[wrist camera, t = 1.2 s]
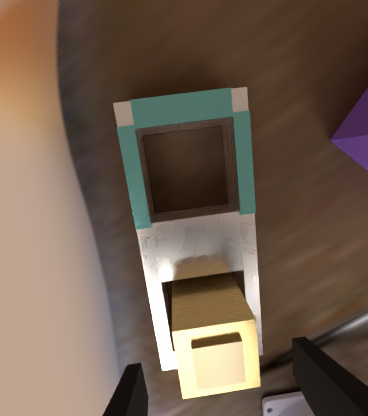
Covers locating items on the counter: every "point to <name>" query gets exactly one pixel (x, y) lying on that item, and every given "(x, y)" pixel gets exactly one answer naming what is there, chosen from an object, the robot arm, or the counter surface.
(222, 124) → the white compartment tray
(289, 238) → the counter surface
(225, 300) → the beige hollow block
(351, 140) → the bracket
